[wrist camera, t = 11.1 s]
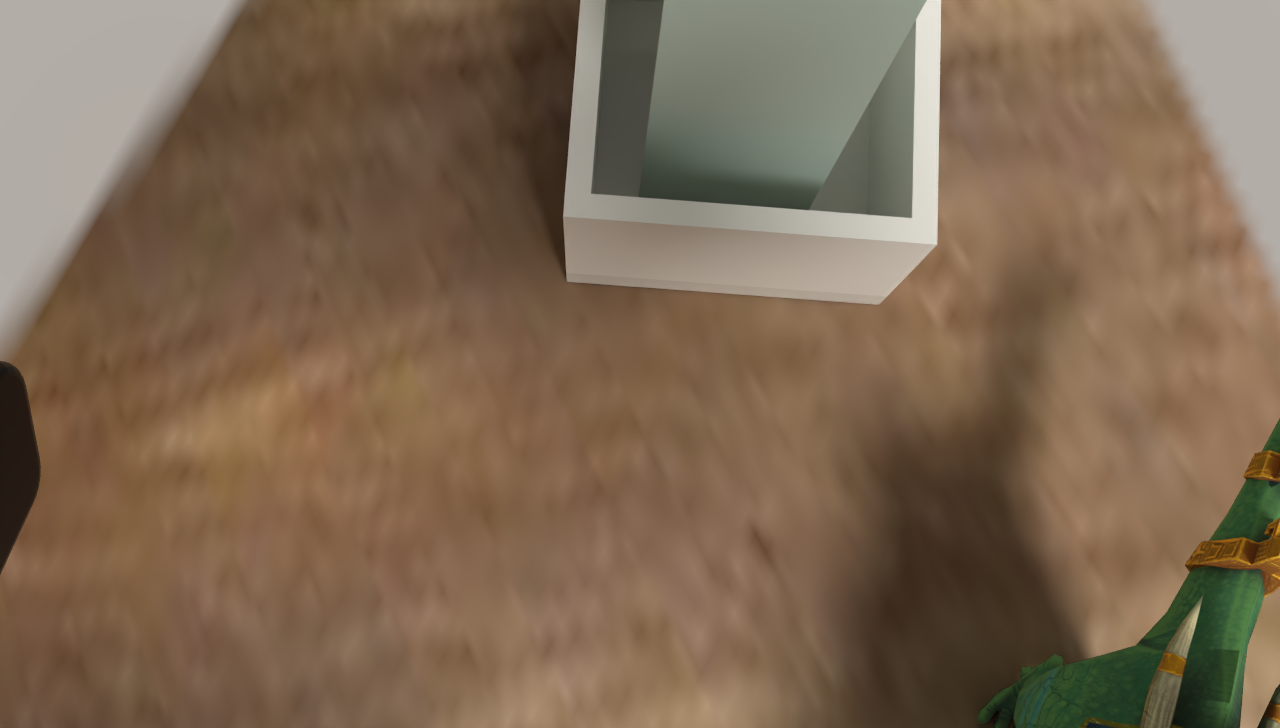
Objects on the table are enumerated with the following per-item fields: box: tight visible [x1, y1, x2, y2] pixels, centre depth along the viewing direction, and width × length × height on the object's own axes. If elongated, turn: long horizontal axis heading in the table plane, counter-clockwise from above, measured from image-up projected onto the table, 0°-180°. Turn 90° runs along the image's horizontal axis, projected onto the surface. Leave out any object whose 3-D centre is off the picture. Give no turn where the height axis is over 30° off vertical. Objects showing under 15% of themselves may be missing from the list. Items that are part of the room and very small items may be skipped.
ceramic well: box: [563, 0, 941, 305], centre depth 21 cm, size 6×6×4 cm
